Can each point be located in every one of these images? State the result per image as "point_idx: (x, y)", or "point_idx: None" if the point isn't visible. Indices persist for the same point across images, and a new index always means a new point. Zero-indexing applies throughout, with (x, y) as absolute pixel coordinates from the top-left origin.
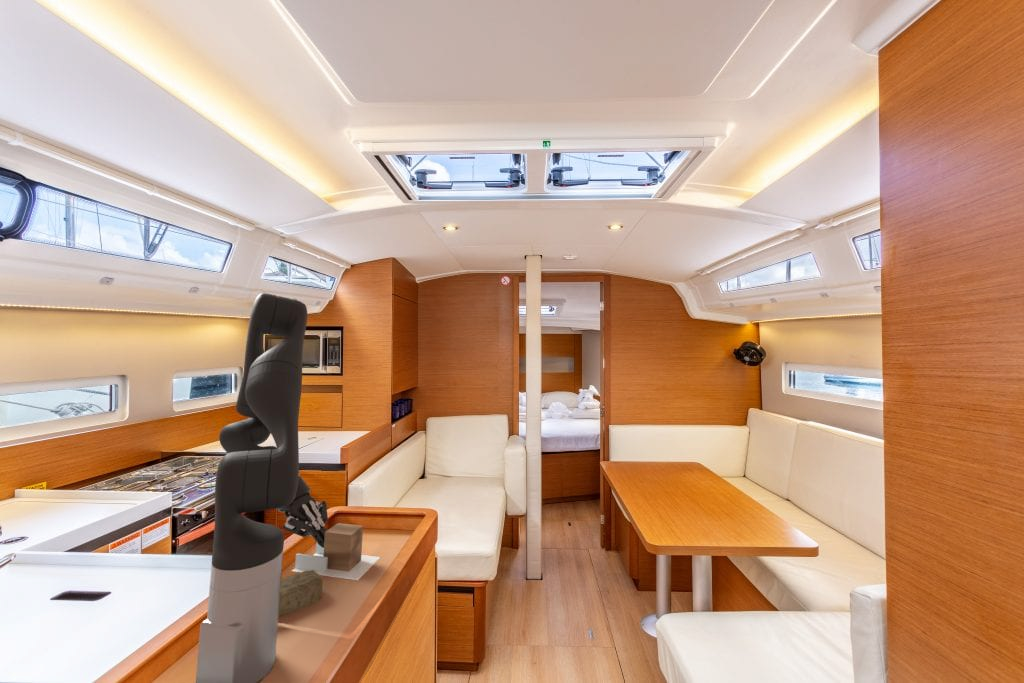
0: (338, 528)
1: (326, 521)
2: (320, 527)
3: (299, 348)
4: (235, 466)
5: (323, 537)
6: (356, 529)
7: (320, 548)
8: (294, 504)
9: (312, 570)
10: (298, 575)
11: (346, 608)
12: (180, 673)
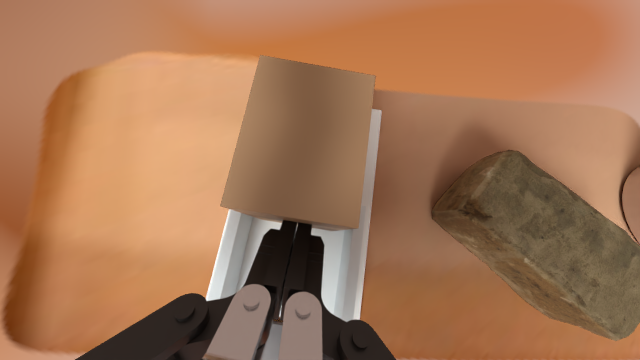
0: (302, 169)
1: (201, 296)
2: (270, 303)
3: None
4: None
5: (308, 254)
6: (309, 71)
7: (230, 294)
8: None
9: (481, 200)
10: (521, 232)
11: (472, 105)
12: None
